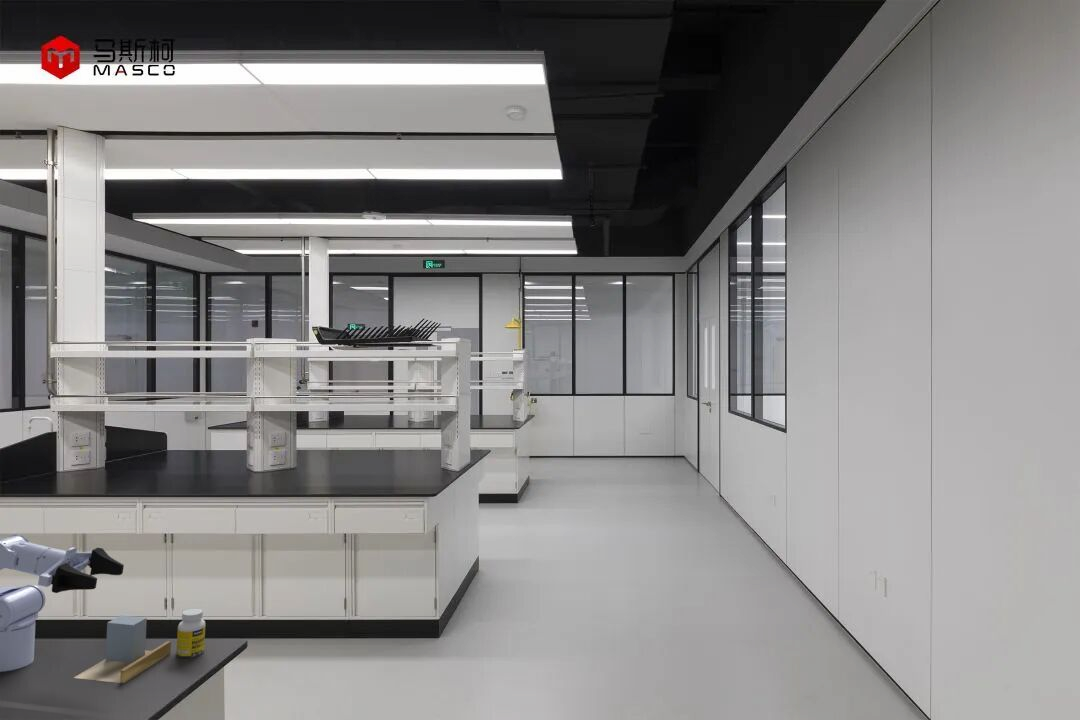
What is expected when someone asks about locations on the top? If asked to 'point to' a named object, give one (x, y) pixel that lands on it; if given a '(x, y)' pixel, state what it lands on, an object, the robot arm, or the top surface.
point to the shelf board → (125, 666)
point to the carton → (126, 639)
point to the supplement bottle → (191, 634)
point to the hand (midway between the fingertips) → (109, 576)
